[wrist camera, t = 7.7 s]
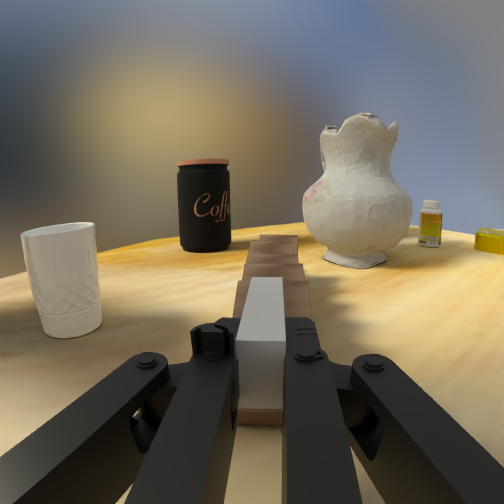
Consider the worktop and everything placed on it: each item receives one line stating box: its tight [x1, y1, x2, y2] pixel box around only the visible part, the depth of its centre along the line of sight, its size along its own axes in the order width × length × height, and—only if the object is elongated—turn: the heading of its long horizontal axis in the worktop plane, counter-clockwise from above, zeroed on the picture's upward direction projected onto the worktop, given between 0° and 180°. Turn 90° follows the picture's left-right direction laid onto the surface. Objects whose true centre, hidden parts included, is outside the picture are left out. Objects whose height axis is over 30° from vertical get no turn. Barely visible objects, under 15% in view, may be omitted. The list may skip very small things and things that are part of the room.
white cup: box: [21, 222, 103, 338], centre depth 27 cm, size 8×8×10 cm
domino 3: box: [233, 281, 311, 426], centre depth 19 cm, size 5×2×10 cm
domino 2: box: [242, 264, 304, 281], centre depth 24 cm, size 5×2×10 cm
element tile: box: [474, 227, 504, 255], centre depth 57 cm, size 15×15×5 cm
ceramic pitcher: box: [303, 113, 412, 269], centre depth 52 cm, size 22×20×25 cm
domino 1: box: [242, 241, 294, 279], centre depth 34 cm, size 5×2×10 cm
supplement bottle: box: [418, 200, 442, 247], centre depth 62 cm, size 6×6×10 cm
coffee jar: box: [177, 159, 231, 253], centre depth 63 cm, size 11×11×18 cm
